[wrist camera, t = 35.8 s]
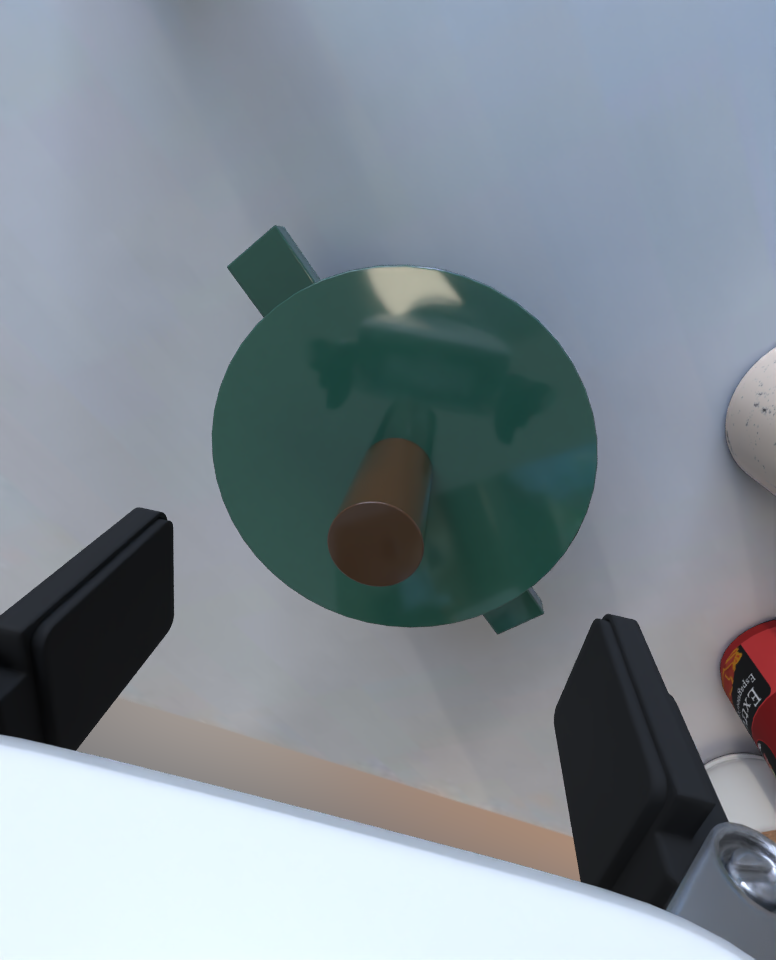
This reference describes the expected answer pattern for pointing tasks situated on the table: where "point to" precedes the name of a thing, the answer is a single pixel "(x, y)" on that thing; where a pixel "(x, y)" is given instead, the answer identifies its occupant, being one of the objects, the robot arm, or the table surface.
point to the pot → (278, 275)
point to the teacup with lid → (755, 422)
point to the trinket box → (746, 791)
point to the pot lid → (404, 446)
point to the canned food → (754, 685)
